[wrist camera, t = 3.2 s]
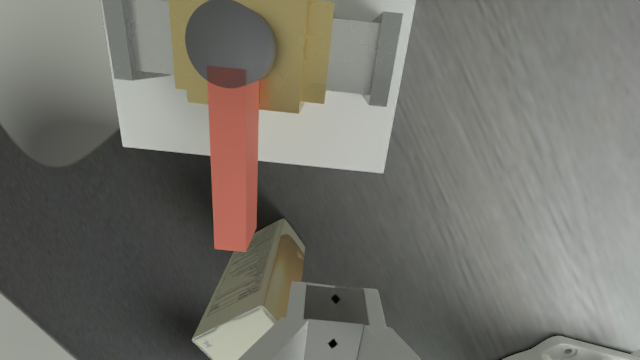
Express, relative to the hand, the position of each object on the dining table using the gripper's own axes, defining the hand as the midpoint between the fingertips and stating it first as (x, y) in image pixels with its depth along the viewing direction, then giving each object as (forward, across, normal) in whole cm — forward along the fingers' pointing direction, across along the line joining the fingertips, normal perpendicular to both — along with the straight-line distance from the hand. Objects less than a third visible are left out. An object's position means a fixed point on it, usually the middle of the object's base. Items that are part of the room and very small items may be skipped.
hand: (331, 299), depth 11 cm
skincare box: (+19, +5, +11) cm, 23 cm away
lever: (+11, +6, -3) cm, 13 cm away
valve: (+19, +6, -8) cm, 21 cm away
